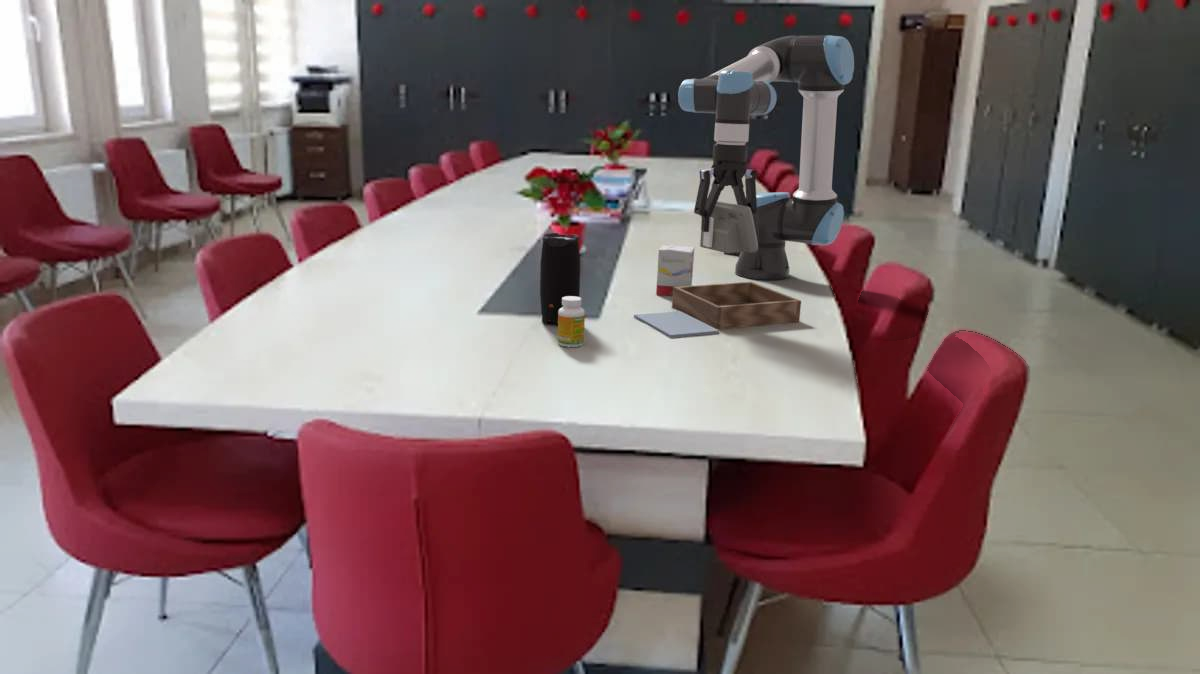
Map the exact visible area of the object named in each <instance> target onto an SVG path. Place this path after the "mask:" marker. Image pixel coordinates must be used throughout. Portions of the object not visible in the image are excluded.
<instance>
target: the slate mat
mask: <svg viewBox="0 0 1200 674" xmlns="http://www.w3.org/2000/svg"><path fill="white" fill-rule="evenodd" d="M633 318H635V319H636V320H638V321H640V322H641V323H642V324H645V325H647V326H649V327H650V328H652V329H654V330H655V331H657V332H659V333H661V334H662V335H665V336H666V337H668V338H670V339H672V338H671V337H674V338H682V337H681V336H685V337H692V336H693V337H694V336H704V335H717V334H720V329H715V328H713V327H711V326H709V325H707V324H705V323H703V322H701V321H699V320H697V319H695V318H693V317H691V316H689V315H687V314H685V313H683V312H681V311H678V310H676V311H663V312H653V313H652V312H651V313H642V314H641V313H640V314H633Z"/></svg>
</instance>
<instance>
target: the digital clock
mask: <svg viewBox="0 0 1200 674" xmlns="http://www.w3.org/2000/svg"><path fill="white" fill-rule="evenodd" d="M700 217H701V216H700ZM711 218H714V224H713V238H712V247H706V246H703V236H704V232H703V231H702V230H701V229H700V231H701V232H700V244H699V246H700V248H704V249H708V250H712V251H716V252H721V253H723V254H724V253H735V252H750V253H754V252H757V250H758V242H757V237H756V232H755V227H754V221H753V216H752V211H751V209H750V207H747V206H742V205H737V203H736V204H735V203H730V202H723V201H719V200H718V201H717V203H716V205H715V208H714V210H713V212H712V215H711ZM701 219H702V217H701Z"/></svg>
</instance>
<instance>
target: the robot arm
mask: <svg viewBox="0 0 1200 674" xmlns="http://www.w3.org/2000/svg"><path fill="white" fill-rule="evenodd" d="M854 71H855V57H854V51H853V48H852V45H851V43H850V42H849V40H848V39H847V38H846V37H844V36H840V35H839V36H838V35H830V34H829V35H786V36H781V37H778V38H776V39H775V38H774V39H773V40H770V41H767V42H765V43H763V44H760V45H758V46H756V47H754V48H752V49H751V50H750V51H749V53H748V54H747V56H745V57H743V58H742V59H740V60H737V61H736V62H733V63H732V64H730V65H728V66H726V67H723V68H722V69H719V70H718V71H716V72H714V73H712V74H710V75H708V76H706V77H704V78H690V79H689V78H687V79H684V80H683V81H682V82H681V84H680V86H679V87H678V92H677V93H678V94H677V96H678V97H677V98H678V104H679V107H680V109H681V110H682V111H684V112H690V113H695V114H696V113H700V114H715V119H714V120H715V121H714V122H715V123H714V133H713V135H714V136H713V137H714V138H713V140H714V142H716V143H714V144H713V147H712V149H713V150H712V161H713V162H712V166H711V168H708V169H700V170H699V184H698V189H697V195H696V200H695V205H694V210H693V212H694V214H696V215H698V216H700V217H702V218H701V222H700V224H701V225H700V228H701V229H700V231H701V230H702V231H703V232H704V236H703V246H706V247H712V238H713V224H714V218H711V215H712V212H713V210H714V208H715V205H716V203H717V201H719V199H720V196H721V193H722V191H723V190H724V189H725V187H729V186H730V187H731V189H732V190H733V191H732V192H733V195H734V197H735V201H736V204H737V205H742V206H747V207H750V209H751V211H752V216H753V221H754V227H755V232H756V237H757V242H758V250H757V252H754V253H750V252H741V254H740V256H738V259H737V261H736V264H735V269H734V270H735V272H734V273H735V275H736V276H739V277H743V278H746V279H753V280H763V281H764V280H768V281H769V280H771V281H773V280H774V281H775V280H785V279H787V278H789V276H790V264H789V262H788V261H789V260H788V256H787V251H786V242H793V243H800V244H808V245H812V246H829V245H831V244H832V243H834V241H836V239H837V237H838V235H839V233H840V231H841V228H842V227H843V226H842V225H843V222H844V218H845V217H844V216H845V215H844V214H845V210H844V206H843V204H841V203H840V202H837V201H838V200H837V199H838V194H837V193H836V192H835V191H834V190H833V187H832V185H833V169H834V155H835V142H836V141H835V140H836V128H837V127H836V125H837V108H838V98H839V96H840V95H841V94H842V93H843V92H844V91H845V85H847V84H850V83H851V81H852V80H853V74H854ZM772 82H785V83H797V84H798V86H797V90H798V92H799V93H800V95H801V96H802V97H803V103H802V105H803V106H802V121H801V122H802V123H801V139H800V140H801V141H800V142H801V143H800V160H799V179H798V181H799V182H798V189H796V191H794V192H793V193H792V198H791V195H790V192H786V191H784V192H783V191H779V192H778V191H777V192H764V193H757V186H756V185H757V184H756V181H757V177H758V176H757V175H758V171H757V170H756V169H751V168H747V167H746V162H747V158H748V149H749V148H748V147H749V146H748V145H747V144H746V143H748V142H749V134H750V121H751V120H750V119H751V116H754V117H755V116H757V117H760V116H761V117H762V116H764V115H767V114H769V113H770V112H772V111H773V109H774V108H775V106H776V104H777V101H778V100H777V99H778V98H777V96H778V95H777V92H776V89H775V88H774V86H772V84H770V83H772ZM712 178H714V179H713V180H712ZM743 178H744V179H745V180H744V183H743ZM711 180H712V184H711ZM710 185H711V189H710ZM744 188H745V190H744ZM709 190H710V192H709Z"/></svg>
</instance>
